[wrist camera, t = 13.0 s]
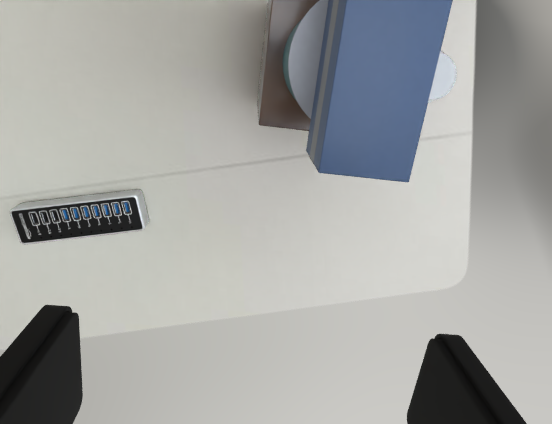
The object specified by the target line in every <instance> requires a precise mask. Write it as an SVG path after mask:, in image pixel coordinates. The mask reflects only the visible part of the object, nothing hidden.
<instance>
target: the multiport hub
mask: <svg viewBox="0 0 552 424" xmlns="http://www.w3.org/2000/svg"><path fill="white" fill-rule="evenodd" d="M10 215H11V218H12V221H13V223H14V226H15V229H16V232H17V234H18V237H19V240H20V242H21V243H22V244H24V245H26V244H34V243H42V242H51V241H59V240H68V239H76V238H85V237H93V236H101V235H110V234H118V233H127V232H135V231H142V230H144V229H145V227H146V225H147V224H148V222H149V217H148V213H147V209H146V204H145V200H144V196H143V192H142V191H141V190H140V189H135V190H127V191H118V192H110V193H101V194H93V195H84V196H76V197H67V198H59V199H50V200H42V201H33V202H25V203H21V204H19V205H18V206H16V207H15V208H13V209H11V210H10Z"/></svg>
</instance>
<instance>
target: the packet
mask: <svg viewBox="0 0 552 424" xmlns="http://www.w3.org/2000/svg"><path fill="white" fill-rule="evenodd" d="M452 1H453V0H329V1H328V8H327V14H326V21H325V28H324V34H323V41H322V48H321V55H320V61H319V68H318V75H317V81H316V88H315V95H314V102H313V108H312V115H311V122H310V128H309V135H308V142H307V149H306V151H307V153H308V155H309V156H310V159H311V160H312V162H313V164H314V165H315V167H316V169H317V170H318V172H319V173H326V174H335V175H345V176H354V177H363V178H373V179H382V180H391V181H401V182H409V179H410V175H411V170H412V166H413V162H414V158H415V154H416V150H417V146H418V141H419V137H420V133H421V129H422V125H423V121H424V117H425V112H426V108H427V104H428V100H429V96H430V92H431V88H432V83H433V79H434V75H435V71H436V67H437V63H438V59H439V54H440V50H441V46H442V42H443V38H444V34H445V30H446V25H447V21H448V17H449V13H450V9H451V5H452Z"/></svg>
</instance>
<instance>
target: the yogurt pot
mask: <svg viewBox="0 0 552 424" xmlns="http://www.w3.org/2000/svg"><path fill="white" fill-rule="evenodd" d="M328 1H329V0H320V1H318V2H317V3H316V4H315V5H314V6H313V7H312V8H311V9H310V10H309V11H308V12H307V14H306V15H305V16H304V17H303V19H302V20H301V21H300V22H299V23H298V24H297V25H296V26H295V28H294V29H293V31H292V32H291V34H290V36H289V38H288V40H287V43H286V46H285V49H284V54H283V73H284V78H285V81H286V84H287V87H288V89H289V91H290V93H291V94H292V96H293V97H294V99H295V100H296V101H297V102H298V104H299V105H300V107H301V108H302V110H303V111H304V112H305V113H306V115H307V116H308V117H309V118H310V119H311V115H312V108H313V102H314V95H315V88H316V81H317V75H318V68H319V61H320V55H321V48H322V41H323V34H324V28H325V21H326V14H327V8H328Z"/></svg>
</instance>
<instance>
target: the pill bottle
mask: <svg viewBox="0 0 552 424" xmlns="http://www.w3.org/2000/svg"><path fill="white" fill-rule="evenodd" d="M456 74H457V72H456V66H455V64H454V62H453V60H452V59H451V58H450V57H448V56H447V55H445V54H444V53H443V52H442V51H441V50H440V54H439V59H438V63H437V67H436V71H435V75H434V79H433V83H432V88H431V92H430V96H429V100H428V103H429V102H432V101H433V100H436V99H439V98H442V97H443V96H445V95H446V94H447V93H448V92H449V91H450V90H451V89H452V87H453V86H454V84H455V81H456Z"/></svg>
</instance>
